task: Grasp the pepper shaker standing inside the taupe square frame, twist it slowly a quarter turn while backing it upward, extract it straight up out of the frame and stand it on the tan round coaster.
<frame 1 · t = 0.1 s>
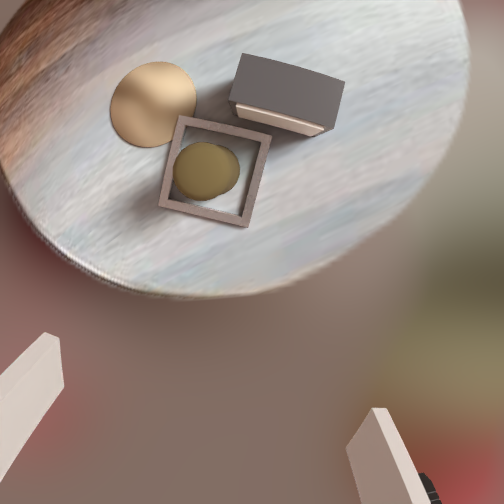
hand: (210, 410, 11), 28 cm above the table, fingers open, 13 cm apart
pepper shaker: (214, 170, 36), resting in taupe square frame
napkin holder: (280, 104, 33), on the table
taupe square frame: (214, 170, 35), on the table
tan round coaster: (152, 103, 33), on the table
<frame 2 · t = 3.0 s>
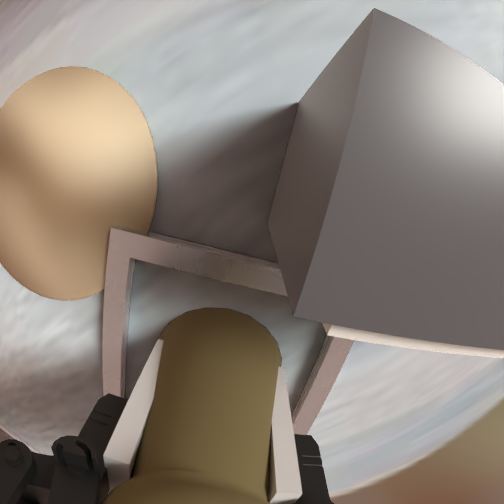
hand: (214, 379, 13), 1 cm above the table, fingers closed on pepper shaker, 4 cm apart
pepper shaker: (218, 361, 14), resting in taupe square frame, touching gripper
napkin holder: (396, 197, 12), on the table
taupe square frame: (217, 364, 14), on the table
tan round coaster: (49, 184, 12), on the table
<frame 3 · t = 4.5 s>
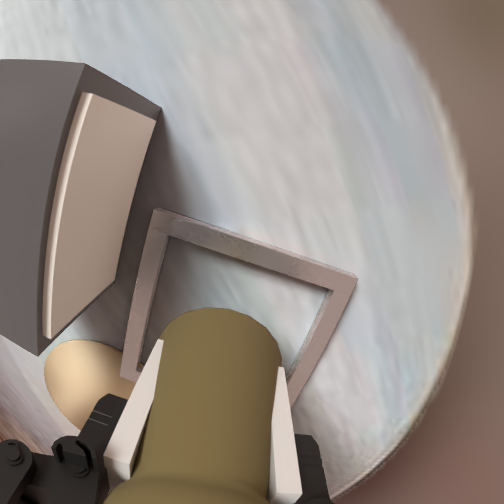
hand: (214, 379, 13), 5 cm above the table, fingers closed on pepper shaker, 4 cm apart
pepper shaker: (217, 361, 14), point 3 cm above the table, touching gripper
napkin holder: (94, 186, 15), on the table
taupe square frame: (226, 330, 17), on the table
tan round coaster: (106, 401, 19), on the table
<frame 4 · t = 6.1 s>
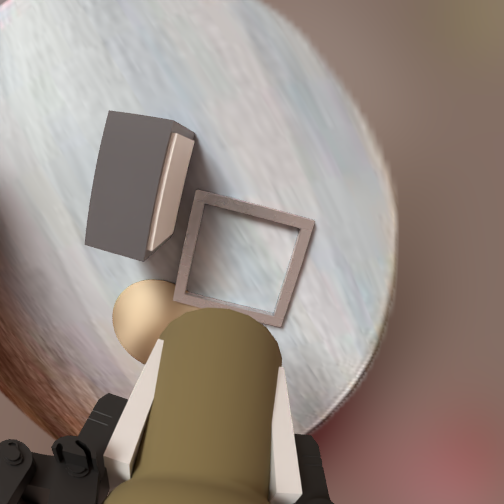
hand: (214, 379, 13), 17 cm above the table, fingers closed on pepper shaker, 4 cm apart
pepper shaker: (218, 361, 14), point 16 cm above the table, touching gripper
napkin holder: (156, 179, 28), on the table
taupe square frame: (240, 260, 30), on the table
tan round coaster: (160, 327, 32), on the table
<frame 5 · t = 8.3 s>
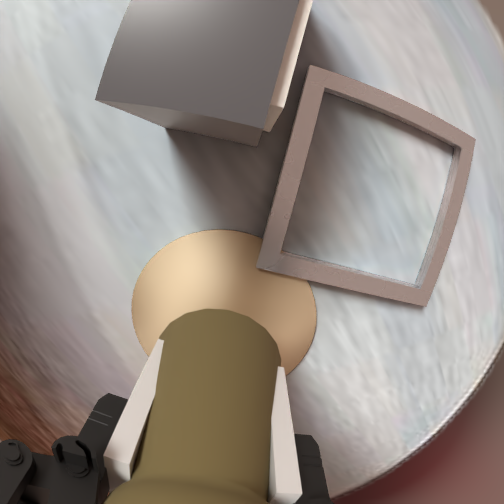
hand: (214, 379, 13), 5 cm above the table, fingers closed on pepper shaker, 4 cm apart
pepper shaker: (217, 362, 14), point 4 cm above the table, touching gripper
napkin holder: (234, 51, 14), on the table
taupe square frame: (377, 193, 16), on the table
tan round coaster: (222, 321, 18), on the table
when the fingers open (2 cm above the table, at t = 9.2 s): pepper shaker stays where it is, resting on tan round coaster.
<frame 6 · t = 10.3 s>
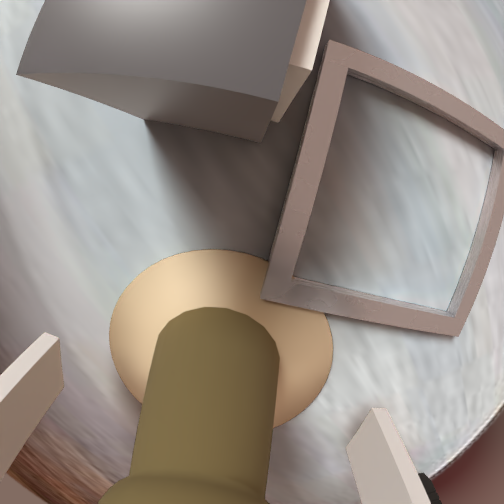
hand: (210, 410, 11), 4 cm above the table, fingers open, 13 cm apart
pepper shaker: (216, 360, 14), resting on tan round coaster
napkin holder: (232, 23, 10), on the table
taupe square frame: (410, 203, 12), on the table
tan round coaster: (218, 359, 14), on the table
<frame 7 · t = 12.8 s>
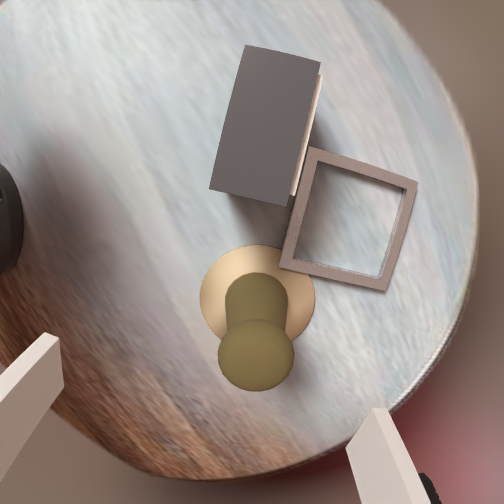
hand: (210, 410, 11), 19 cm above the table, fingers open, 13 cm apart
pepper shaker: (256, 301, 30), resting on tan round coaster
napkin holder: (263, 135, 26), on the table
taupe square frame: (350, 221, 28), on the table
tan round coaster: (257, 301, 30), on the table
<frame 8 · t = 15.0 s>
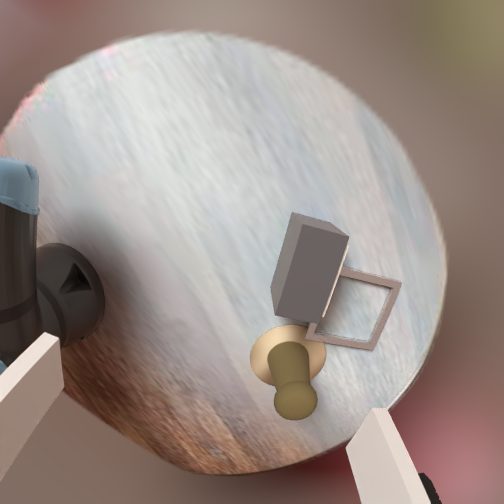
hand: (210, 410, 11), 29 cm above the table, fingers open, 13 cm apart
pepper shaker: (287, 357, 43), resting on tan round coaster
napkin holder: (300, 255, 39), on the table
taupe square frame: (352, 308, 41), on the table
tan round coaster: (288, 357, 43), on the table
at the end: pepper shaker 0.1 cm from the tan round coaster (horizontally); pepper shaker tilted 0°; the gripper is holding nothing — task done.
